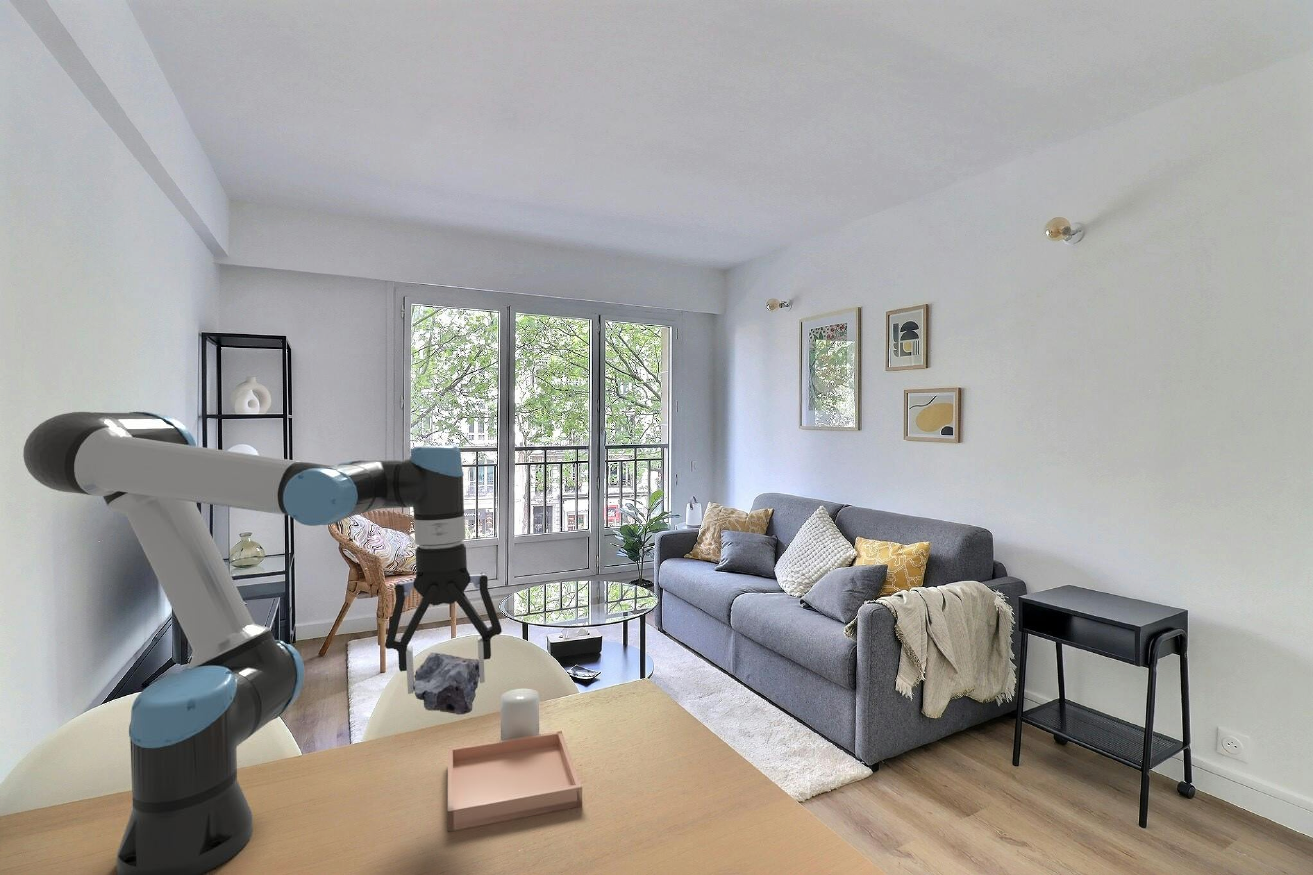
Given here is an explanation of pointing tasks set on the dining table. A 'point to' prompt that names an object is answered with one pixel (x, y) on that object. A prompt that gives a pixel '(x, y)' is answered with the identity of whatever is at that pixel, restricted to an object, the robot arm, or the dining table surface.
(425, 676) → the rock
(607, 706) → the dining table surface
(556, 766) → the dish
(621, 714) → the dining table surface
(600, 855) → the dining table surface
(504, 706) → the white rounded cylinder
